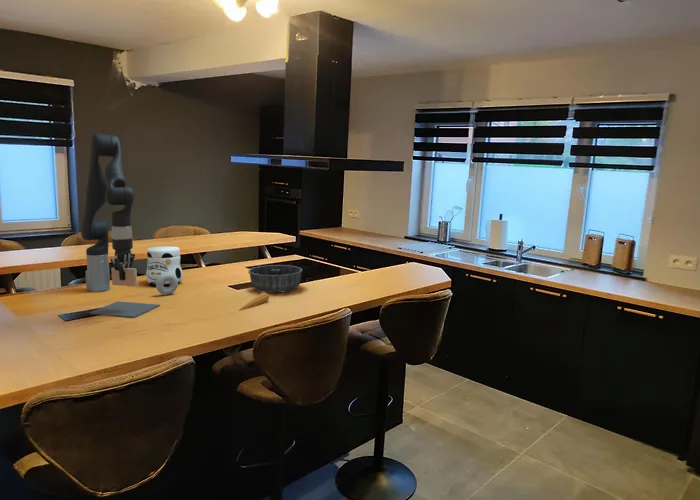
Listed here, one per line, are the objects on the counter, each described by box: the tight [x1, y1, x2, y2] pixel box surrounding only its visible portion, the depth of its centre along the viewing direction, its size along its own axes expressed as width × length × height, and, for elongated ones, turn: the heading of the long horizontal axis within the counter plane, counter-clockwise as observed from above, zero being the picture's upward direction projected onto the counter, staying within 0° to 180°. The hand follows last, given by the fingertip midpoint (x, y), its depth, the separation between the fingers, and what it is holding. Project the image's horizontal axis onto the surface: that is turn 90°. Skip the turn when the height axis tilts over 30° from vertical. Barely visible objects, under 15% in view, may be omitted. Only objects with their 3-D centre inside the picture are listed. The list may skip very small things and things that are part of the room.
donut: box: [155, 274, 179, 296], centre depth 232 cm, size 10×4×10 cm, turn 130°
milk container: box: [145, 245, 184, 286], centre depth 253 cm, size 17×17×18 cm
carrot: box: [238, 292, 270, 311], centre depth 218 cm, size 20×4×4 cm, turn 152°
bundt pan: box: [247, 264, 303, 294], centre depth 247 cm, size 26×26×10 cm
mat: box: [88, 301, 161, 319], centre depth 207 cm, size 20×18×1 cm
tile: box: [110, 267, 138, 287], centre depth 205 cm, size 10×2×7 cm, turn 80°
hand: (124, 279), depth 205 cm, fingers closed on tile, 1 cm apart
